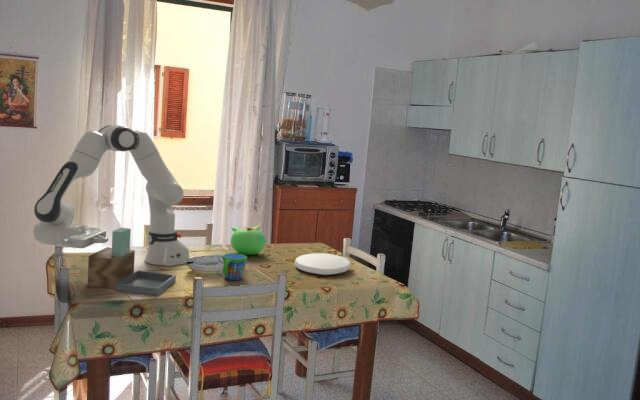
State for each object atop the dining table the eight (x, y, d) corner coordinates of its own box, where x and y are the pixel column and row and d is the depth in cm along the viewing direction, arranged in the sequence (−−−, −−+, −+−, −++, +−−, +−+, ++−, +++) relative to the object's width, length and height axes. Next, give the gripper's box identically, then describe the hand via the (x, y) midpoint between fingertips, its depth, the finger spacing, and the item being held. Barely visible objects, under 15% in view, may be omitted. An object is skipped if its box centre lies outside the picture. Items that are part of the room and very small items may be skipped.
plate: (328, 271, 276) (283, 258, 291) (328, 284, 277) (283, 271, 292) (361, 255, 298) (317, 245, 313) (360, 268, 300) (317, 257, 315)
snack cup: (234, 272, 276) (235, 250, 274) (253, 277, 271) (255, 255, 269) (212, 279, 262) (214, 256, 260) (232, 284, 257) (233, 261, 255)
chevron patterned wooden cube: (87, 285, 238) (88, 256, 237) (106, 274, 254) (107, 247, 252) (116, 289, 237) (118, 259, 235) (133, 278, 253) (134, 250, 251)
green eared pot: (231, 257, 301) (233, 228, 299) (228, 249, 317) (230, 221, 315) (266, 258, 305) (269, 230, 303) (262, 250, 321) (264, 223, 319)
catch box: (115, 290, 235) (115, 283, 235) (136, 277, 255) (136, 270, 255) (157, 296, 234) (158, 288, 233) (175, 281, 253) (175, 275, 253)
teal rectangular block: (111, 255, 240) (112, 231, 238) (120, 251, 248) (121, 227, 246) (121, 257, 239) (122, 232, 238) (129, 252, 247) (130, 228, 246)
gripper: (60, 234, 234) (94, 238, 233) (86, 224, 254) (117, 228, 253) (60, 249, 235) (94, 254, 234) (85, 239, 255) (117, 242, 254)
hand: (106, 240), depth 244 cm, fingers closed
